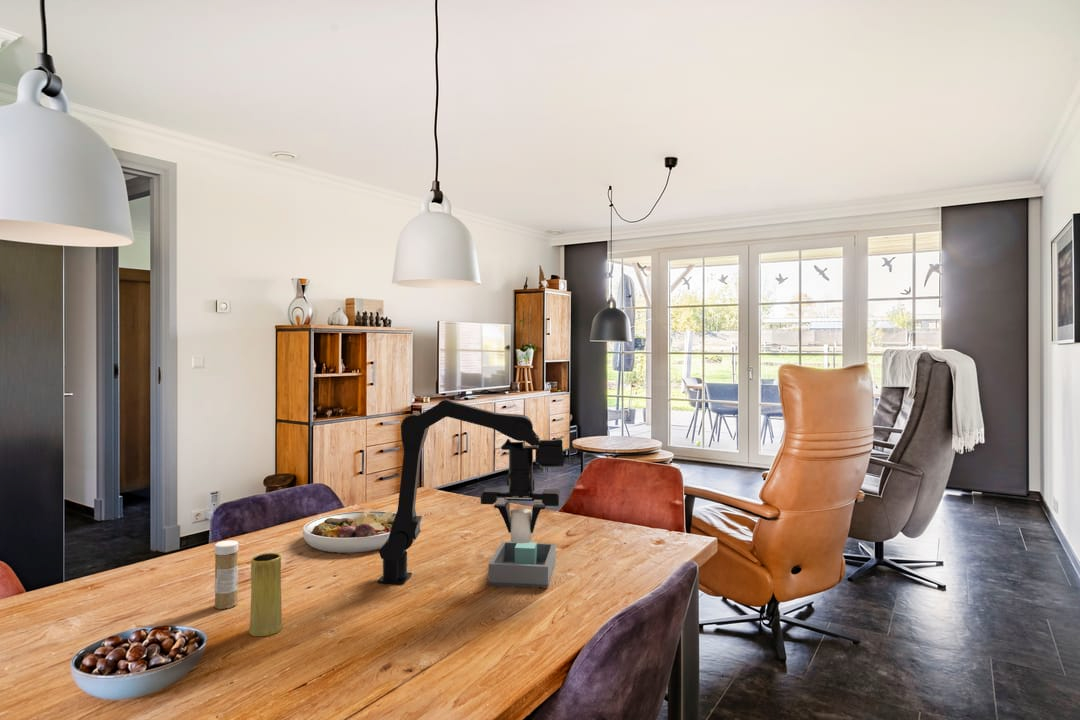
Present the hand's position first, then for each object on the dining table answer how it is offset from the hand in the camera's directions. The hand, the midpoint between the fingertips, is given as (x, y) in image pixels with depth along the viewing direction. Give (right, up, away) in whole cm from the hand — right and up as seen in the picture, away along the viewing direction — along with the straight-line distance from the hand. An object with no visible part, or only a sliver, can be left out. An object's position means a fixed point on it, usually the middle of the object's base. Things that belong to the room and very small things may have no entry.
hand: (521, 532), depth 149 cm
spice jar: (-62, -11, -17) cm, 66 cm away
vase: (-49, -11, -29) cm, 58 cm away
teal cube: (+1, -10, +8) cm, 13 cm away
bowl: (-49, -11, +32) cm, 59 cm away
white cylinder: (0, -2, 0) cm, 2 cm away
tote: (+1, -11, +4) cm, 12 cm away
